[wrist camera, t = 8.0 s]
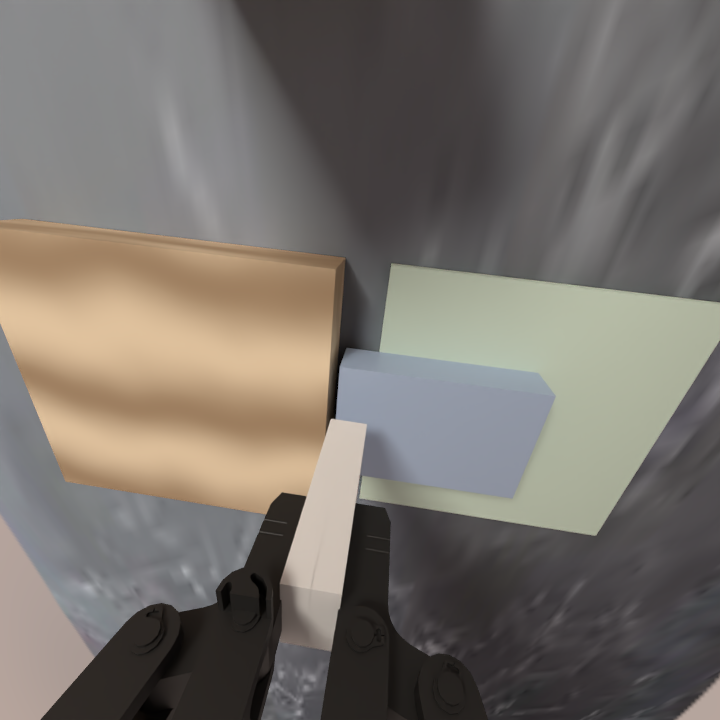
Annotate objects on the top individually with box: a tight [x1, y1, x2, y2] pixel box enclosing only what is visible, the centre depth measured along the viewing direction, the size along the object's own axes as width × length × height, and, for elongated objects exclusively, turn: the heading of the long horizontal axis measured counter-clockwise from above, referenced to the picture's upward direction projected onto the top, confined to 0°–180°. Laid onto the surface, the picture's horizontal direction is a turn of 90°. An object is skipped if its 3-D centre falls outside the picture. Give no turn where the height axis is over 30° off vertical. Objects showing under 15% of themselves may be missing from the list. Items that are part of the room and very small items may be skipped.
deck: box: [0, 219, 346, 514], centre depth 17 cm, size 14×15×2 cm
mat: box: [360, 263, 720, 536], centre depth 17 cm, size 14×14×1 cm
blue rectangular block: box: [336, 348, 556, 499], centre depth 16 cm, size 9×6×2 cm, turn 85°
